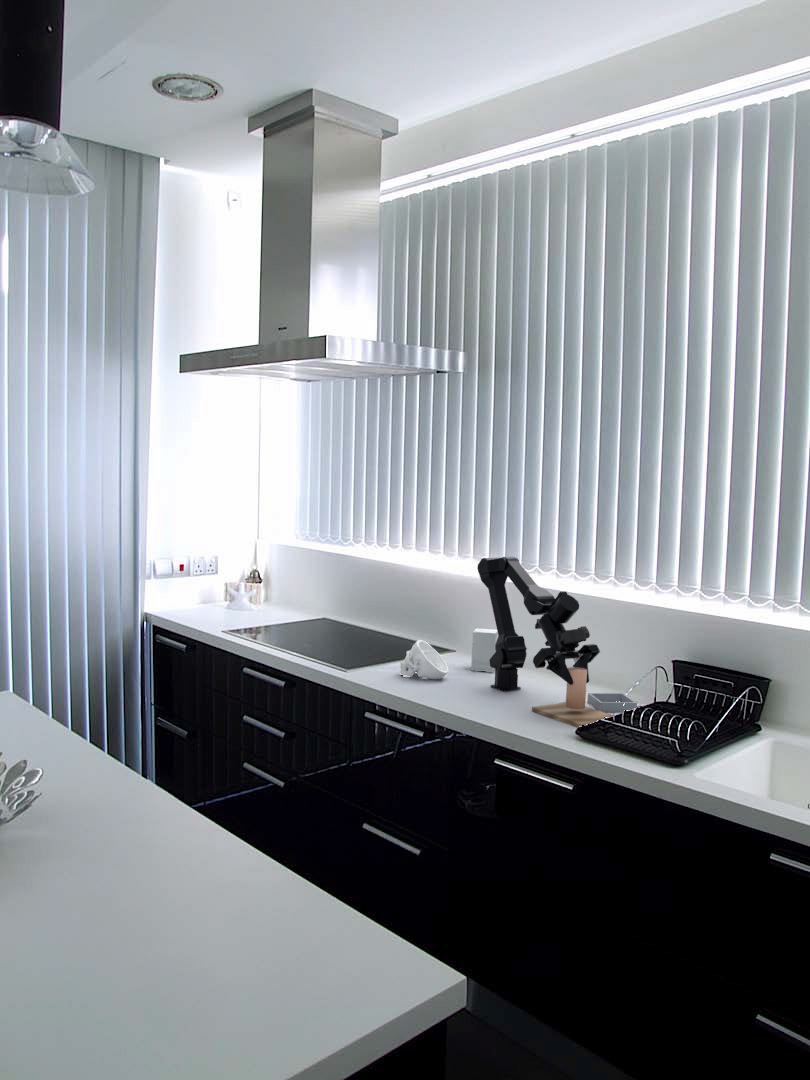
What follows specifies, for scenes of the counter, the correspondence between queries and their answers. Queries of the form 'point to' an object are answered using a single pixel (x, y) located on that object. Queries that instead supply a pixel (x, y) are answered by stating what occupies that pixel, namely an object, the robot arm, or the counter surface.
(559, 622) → the robot arm
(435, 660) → the skull bowl
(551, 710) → the walnut board
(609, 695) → the grey box
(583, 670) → the pink tall rounded piece
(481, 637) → the supplement box
